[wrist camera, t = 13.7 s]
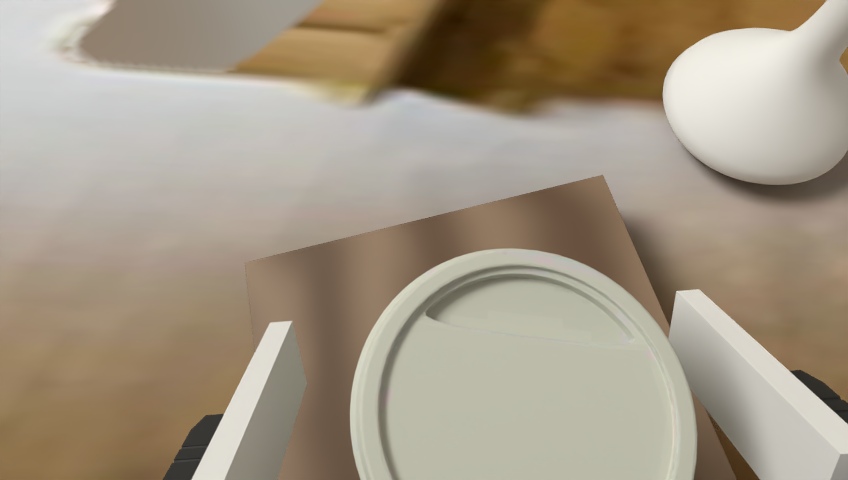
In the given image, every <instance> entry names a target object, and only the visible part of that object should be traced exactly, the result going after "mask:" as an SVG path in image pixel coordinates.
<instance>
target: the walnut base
mask: <svg viewBox="0 0 848 480" xmlns="http://www.w3.org/2000/svg"><path fill="white" fill-rule="evenodd" d="M509 248H513V249H526V250H537V251H542V252H547V253H552V254H557V255H560V256H563V257H566V258H570V259H573V260H575V261H578V262H580V263H582V264H585V265H587V266H589V267H591V268H593V269H595V270H596V271H598V272H600V273H602V274H604V275H606V276H607V277H609V278H610V279H611V280H613V281H614V282H616V283H617V284H618V285H620V286H621V287H622V288H624V289H625V290H626V291H627V292H628V293H630V294H631V295H632V296H633V297H634V298H635V299H636V300H637V301H638V302H639V303H640V304H641V305H642V306H643V307H644V308H645V309H646V310H647V311H648V312H649V313H650V315H651V316H652V317H653V318H654V320H655V321H656V322H657V324H658V325H659V326H660V327H661V329H662V330H663V332H664V333H665V335H666V336H667V338H669V332H670V327H669V324H668V322H667V320H666V318H665V315H664V313H663V311H662V308H661V306H660V304H659V302H658V299H657V297H656V295H655V292H654V290H653V288H652V286H651V283H650V281H649V279H648V277H647V274H646V272H645V270H644V267H643V265H642V263H641V261H640V258H639V256H638V254H637V251H636V249H635V247H634V245H633V242H632V240H631V238H630V236H629V233H628V231H627V229H626V226H625V224H624V222H623V220H622V217H621V215H620V213H619V211H618V208H617V206H616V204H615V201H614V199H613V197H612V195H611V192H610V190H609V188H608V185H607V183H606V181H605V179H604V176H603V175H601V176H596V177H592V178H588V179H584V180H580V181H576V182H572V183H568V184H564V185H560V186H556V187H552V188H547V189H543V190H539V191H535V192H531V193H527V194H523V195H519V196H515V197H511V198H507V199H503V200H498V201H494V202H490V203H486V204H482V205H478V206H474V207H470V208H466V209H462V210H458V211H453V212H449V213H445V214H441V215H437V216H433V217H429V218H425V219H421V220H417V221H413V222H409V223H404V224H400V225H396V226H392V227H388V228H384V229H380V230H376V231H372V232H368V233H364V234H359V235H355V236H351V237H347V238H343V239H339V240H335V241H331V242H327V243H323V244H319V245H315V246H310V247H306V248H302V249H298V250H294V251H290V252H286V253H282V254H278V255H274V256H270V257H265V258H261V259H257V260H253V261H249V262H245V269H246V278H247V287H248V296H249V305H250V314H251V323H252V332H253V341H254V350H255V352H256V350H257V348H258V346H259V344H260V342H261V340H262V338H263V336H264V334H265V332H266V330H267V328H268V326H269V324H270V323H271V322H284V321H292V323H293V327H294V331H295V335H296V340H297V344H298V348H299V353H300V357H301V361H302V365H303V370H304V374H305V378H306V382H307V385H306V388H305V391H304V394H303V398H302V401H301V404H300V407H299V410H298V414H297V417H296V420H295V423H294V427H293V430H292V433H291V436H290V440H289V443H288V446H287V449H286V453H285V456H284V459H283V462H282V466H281V469H280V472H279V475H278V479H277V480H360V477H359V473H358V470H357V467H356V462H355V458H354V454H353V447H352V440H351V431H350V403H351V392H352V386H353V381H354V375H355V371H356V368H357V364H358V361H359V358H360V355H361V352H362V349H363V347H364V345H365V342H366V340H367V338H368V336H369V334H370V332H371V330H372V329H373V327H374V325H375V324H376V322H377V320H378V319H379V317H380V316H381V314H382V313H383V312H384V310H385V309H386V308H387V306H388V305H389V304H390V303H391V302H392V301H393V299H394V298H395V297H396V296H397V295H398V294H399V293H400V292H401V291H402V290H403V289H404V288H405V287H407V286H408V285H409V284H410V283H411V282H413V281H414V280H415V279H417V278H418V277H419V276H421V275H422V274H424V273H425V272H427V271H429V270H430V269H432V268H434V267H436V266H438V265H440V264H441V263H444V262H446V261H448V260H451V259H453V258H456V257H459V256H462V255H465V254H469V253H473V252H477V251H483V250H491V249H509ZM690 390H691V389H690ZM691 394H692V399H693V404H694V409H695V414H696V424H697V433H698V435H697V463H696V468H695V474H694V480H737V479H736V477H735V475H734V472H733V470H732V468H731V466H730V463H729V461H728V459H727V456H726V454H725V452H724V450H723V447H722V445H721V443H720V440H719V438H718V436H717V434H716V431H715V429H714V427H713V425H712V422H711V420H710V418H709V415H708V413H707V411H706V409H705V407H704V406H703V405H702V404H701V402H700V401H699V400H698V398H697V397H696V396H695V394H694V393H693V392H692V391H691Z"/></svg>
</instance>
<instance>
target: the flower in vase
mask: <svg viewBox="0 0 848 480" xmlns="http://www.w3.org/2000/svg"><path fill="white" fill-rule="evenodd" d="M847 47H848V0H827V1H826V2H825V3H824V4H823V6H822V7H821V8H820V9H819V10H818V11H817V12H816V13H815V14H814V15H813V16H812V17H811V18H810V19H809V20H808V21H806V22H805V23H804V24H803V25H801V26H800V27H799V28H797V29H795V30H793V31H791V32H789V31H784V30H776V29H767V28H747V29H737V30H730V31H724V32H720V33H717V34H714V35H711V36H709V37H706V38H704V39H702V40H701V41H699V42H697V43H696V44H694V45H693V46H691V47H690V48H688V49H687V50H685V51H684V52H683V53H682V54H681V55H680V56H678V58H677V59H676V60H675V61H674V62H673V64H672V65H671V67H670V69H669V70H668V72H667V75H666V78H665V81H664V86H663V102H664V108H665V112H666V115H667V118H668V121H669V124H670V126H671V128H672V130H673V132H674V133H675V135H676V136H677V138H678V140H679V141H680V142H681V143H682V145H683V146H684V147H685V148H686V149H687V150H688V151H689V152H690V153H691V154H692V155H693V156H694V157H696V158H697V159H698V160H700V161H701V162H702V163H704V164H705V165H707V166H709V167H710V168H712V169H714V170H716V171H718V172H720V173H722V174H724V175H726V176H729V177H732V178H735V179H738V180H742V181H746V182H752V183H759V184H767V185H786V184H795V183H800V182H805V181H808V180H811V179H814V178H817V177H819V176H820V175H822V174H824V173H826V172H828V171H829V170H830V169H832V168H833V167H834V166H835V165H836V164H837V163H838V162H839V161H840V160H841V159H842V158H843V156H844V155H845V153H846V152H847V150H848V75H847V73H846V71H845V69H844V68H843V66H842V65H841V63H840V62H839V60H840V57H841V54H842V53H843V52H844V51H845V49H846V48H847Z"/></svg>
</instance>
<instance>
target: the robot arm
mask: <svg viewBox="0 0 848 480" xmlns="http://www.w3.org/2000/svg"><path fill="white" fill-rule="evenodd" d="M668 339H669V341H670V343H671V345H672V347H673V349H674V350H675V352H676V354H677V356H678V358H679V361H680V363H681V365H682V367H683V370H684V372H685V375H686V378H687V381H688V384H689V387H690V389H691V391H692V392H693V393H694V394H695V396H696V397H697V398H698V400H699V401H700V402H701V404H702V405H703V406H704V407H705V409H706V410H707V411H708V413H709V414H710V415H711V416H712V418H713V419H714V420H715V422H716V423H717V424H718V426H719V427H720V428H721V429H722V431H723V432H724V433H725V435H726V436H727V437H728V439H729V440H730V441H731V442H732V444H733V445H734V446H735V448H736V449H737V450H738V452H739V453H740V454H741V455H742V457H743V458H744V459H745V461H746V462H747V463H748V465H749V466H750V467H751V468H752V470H753V471H754V472H755V474H756V475H757V476H758V477H759V479H760V480H848V403H847V402H845V401H844V400H841V399H840V396H838V395H837V394H836V393H835V392H834V391H833V390H831V389H830V388H829V387H828V386H827V385H826V384H824V383H823V382H822V381H820V380H818V379H816V378H814V377H812V376H811V375H809V374H807V373H805V372H803V371H801V370H796V371H789V370H787V369H786V368H785V367H784V366H783V365H782V364H781V363H780V362H779V361H778V360H776V359H775V358H774V357H773V356H772V355H771V354H770V353H769V352H768V351H766V350H765V349H764V348H763V347H762V346H761V345H760V344H759V343H758V342H757V341H755V340H754V339H753V338H752V337H751V336H750V335H749V334H748V333H747V332H746V331H744V330H743V329H742V328H741V327H740V326H739V325H738V324H737V323H736V322H735V321H733V320H732V319H731V318H730V317H729V316H728V315H727V314H726V313H725V312H723V311H722V310H721V309H720V308H719V307H718V306H717V305H716V304H715V303H714V302H712V301H711V300H710V299H709V298H708V297H707V296H706V295H705V294H704V293H703V292H701V291H700V290H699V289H698V290H685V291H676V296H675V302H674V308H673V314H672V320H671V326H670V332H669V338H668ZM306 385H307V382H306V378H305V374H304V370H303V365H302V361H301V357H300V353H299V348H298V344H297V340H296V335H295V331H294V327H293V323H292V321H284V322H271V323H270V324H269V326H268V328H267V330H266V332H265V334H264V336H263V338H262V340H261V342H260V344H259V346H258V348H257V350H256V352H255V354H254V356H253V358H252V360H251V362H250V364H249V366H248V368H247V370H246V372H245V374H244V376H243V378H242V380H241V382H240V384H239V386H238V388H237V390H236V392H235V394H234V396H233V398H232V400H231V402H230V404H229V406H228V408H227V410H226V412H225V414H217V415H206V416H205V417H204V418H203V419H202V420H201V421H200V422H199V423H198V424H197V425H196V426H194V427H193V428H192V429H191V431H190V432H189V434H188V436H187V438H186V440H185V441H184V443H183V445H182V449H180V450H179V452H178V454H177V455H176V457H175V459H174V463H172V464H171V466H170V468H169V470H168V471H167V473H166V475H165V477H164V479H163V480H277V479H278V475H279V472H280V469H281V466H282V462H283V459H284V456H285V453H286V449H287V446H288V443H289V440H290V436H291V433H292V430H293V427H294V423H295V420H296V417H297V414H298V410H299V407H300V404H301V401H302V398H303V394H304V391H305V388H306Z"/></svg>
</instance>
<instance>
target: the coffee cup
mask: <svg viewBox="0 0 848 480" xmlns="http://www.w3.org/2000/svg"><path fill="white" fill-rule="evenodd" d="M350 431H351V440H352V447H353V454H354V458H355V462H356V467H357V470H358V473H359V477H360V480H694V474H695V468H696V463H697V435H698V433H697V424H696V414H695V409H694V404H693V399H692V394H691V390H690V387H689V384H688V381H687V378H686V375H685V372H684V370H683V367H682V365H681V363H680V361H679V358H678V356H677V354H676V352H675V350H674V349H673V347H672V345H671V343H670V341H669V339H668V338H667V336H666V335H665V333H664V332H663V330H662V329H661V327H660V326H659V325H658V324H657V322H656V321H655V320H654V318H653V317H652V316H651V315H650V313H649V312H648V311H647V310H646V309H645V308H644V307H643V306H642V305H641V304H640V303H639V302H638V301H637V300H636V299H635V298H634V297H633V296H632V295H631V294H630V293H628V292H627V291H626V290H625V289H624V288H622V287H621V286H620V285H618V284H617V283H616V282H614V281H613V280H611V279H610V278H609V277H607V276H606V275H604V274H602V273H600V272H598V271H596V270H595V269H593V268H591V267H589V266H587V265H585V264H582V263H580V262H578V261H575V260H573V259H570V258H566V257H563V256H560V255H557V254H552V253H547V252H542V251H537V250H526V249H513V248H509V249H491V250H483V251H477V252H473V253H469V254H465V255H462V256H459V257H456V258H453V259H451V260H448V261H446V262H444V263H441V264H440V265H438V266H436V267H434V268H432V269H430V270H429V271H427V272H425V273H424V274H422V275H421V276H419V277H418V278H417V279H415V280H414V281H413V282H411V283H410V284H409V285H408V286H407V287H405V288H404V289H403V290H402V291H401V292H400V293H399V294H398V295H397V296H396V297H395V298H394V299H393V301H392V302H391V303H390V304H389V305H388V306H387V308H386V309H385V310H384V312H383V313H382V314H381V316H380V317H379V319H378V320H377V322H376V324H375V325H374V327H373V329H372V330H371V332H370V334H369V336H368V338H367V340H366V342H365V345H364V347H363V349H362V352H361V355H360V358H359V361H358V364H357V368H356V371H355V375H354V381H353V386H352V392H351V403H350Z"/></svg>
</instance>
